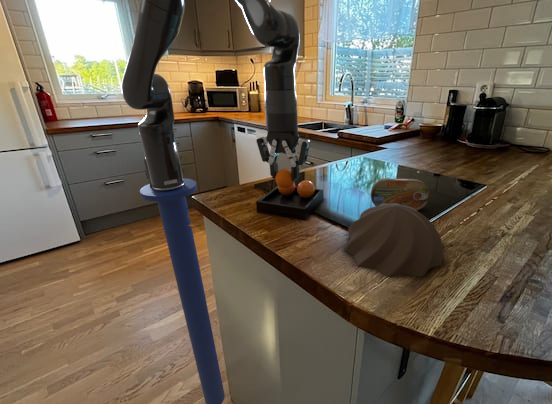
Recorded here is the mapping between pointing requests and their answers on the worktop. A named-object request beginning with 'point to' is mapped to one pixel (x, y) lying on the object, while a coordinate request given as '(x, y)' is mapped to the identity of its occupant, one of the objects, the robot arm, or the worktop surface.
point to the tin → (400, 192)
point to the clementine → (284, 178)
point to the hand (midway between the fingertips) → (284, 178)
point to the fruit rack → (291, 201)
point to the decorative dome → (395, 241)
